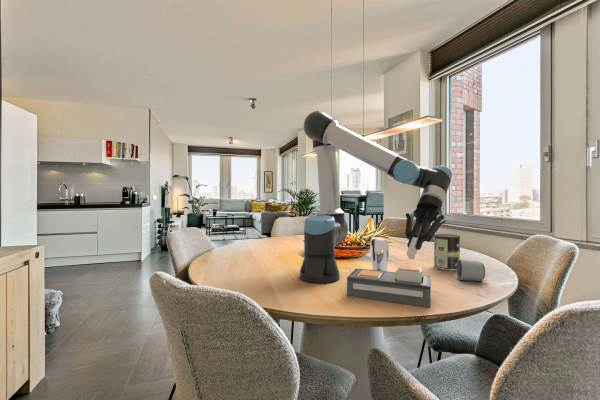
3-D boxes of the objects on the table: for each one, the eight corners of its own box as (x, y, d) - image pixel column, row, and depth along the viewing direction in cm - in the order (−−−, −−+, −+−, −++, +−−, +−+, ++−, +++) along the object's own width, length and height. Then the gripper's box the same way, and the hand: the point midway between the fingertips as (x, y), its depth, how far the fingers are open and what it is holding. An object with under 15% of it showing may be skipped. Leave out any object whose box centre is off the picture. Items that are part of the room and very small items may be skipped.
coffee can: (459, 266, 135) (459, 234, 134) (460, 271, 125) (460, 237, 125) (433, 264, 139) (434, 233, 139) (433, 269, 130) (433, 236, 129)
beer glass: (385, 281, 111) (386, 240, 111) (367, 278, 115) (367, 239, 115) (391, 277, 117) (391, 238, 117) (373, 274, 121) (373, 236, 121)
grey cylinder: (486, 283, 109) (486, 262, 109) (461, 282, 111) (461, 261, 110) (476, 276, 119) (476, 256, 119) (453, 275, 121) (453, 255, 121)
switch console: (346, 296, 95) (346, 277, 95) (355, 285, 107) (356, 268, 106) (430, 307, 86) (430, 286, 86) (430, 294, 97) (430, 275, 97)
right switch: (396, 280, 92) (396, 268, 92) (398, 274, 98) (398, 263, 98) (421, 283, 89) (421, 271, 89) (422, 277, 96) (422, 265, 95)
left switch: (356, 285, 97) (356, 274, 97) (361, 279, 103) (361, 269, 103) (379, 288, 94) (379, 276, 94) (382, 282, 100) (382, 271, 100)
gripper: (453, 209, 103) (435, 267, 91) (415, 208, 112) (394, 260, 100) (448, 193, 99) (428, 252, 87) (409, 193, 108) (386, 246, 96)
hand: (410, 256), depth 94 cm, fingers closed
